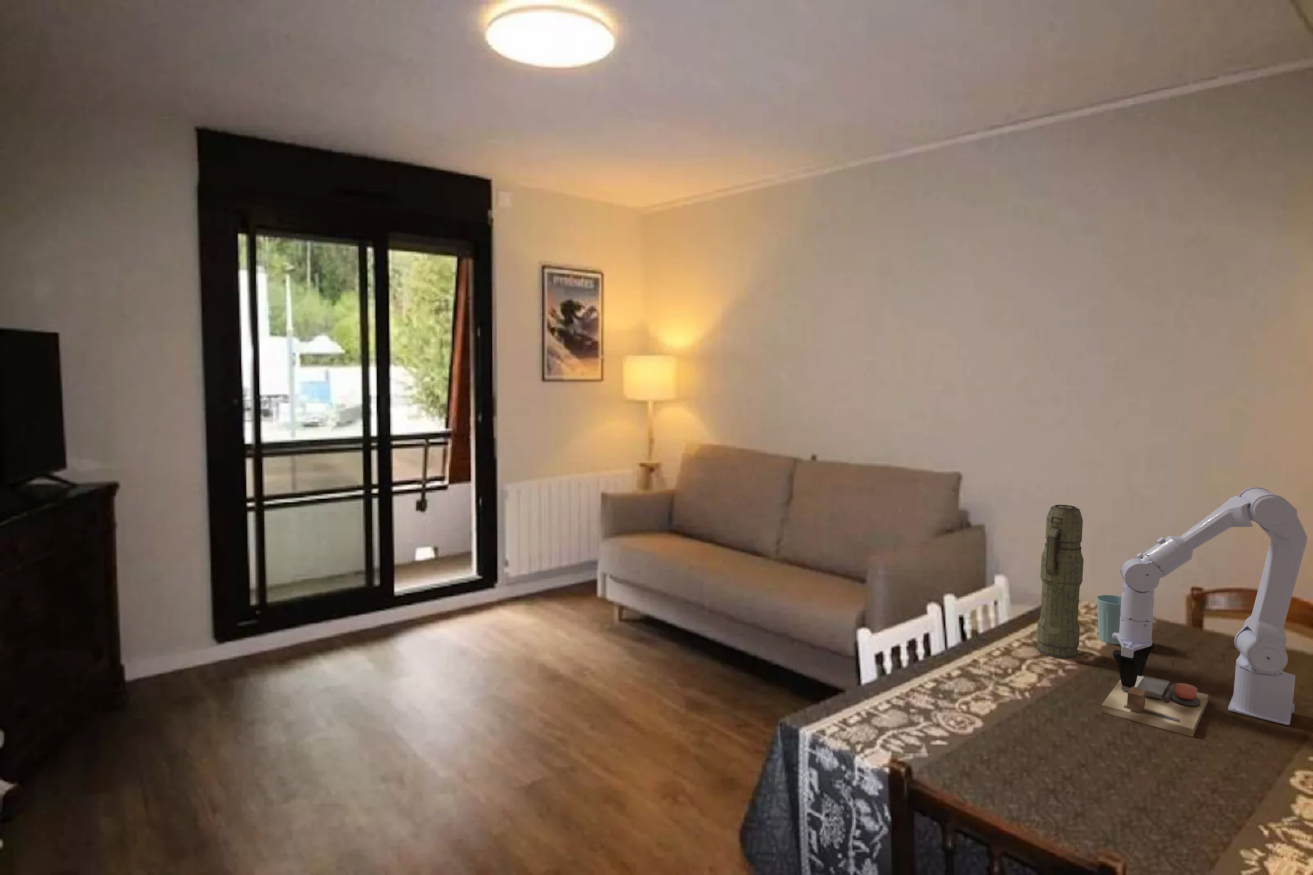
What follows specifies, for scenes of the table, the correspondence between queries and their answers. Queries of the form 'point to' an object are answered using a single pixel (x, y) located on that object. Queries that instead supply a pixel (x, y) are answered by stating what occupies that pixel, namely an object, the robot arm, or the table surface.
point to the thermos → (1061, 583)
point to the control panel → (1159, 710)
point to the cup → (1108, 617)
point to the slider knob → (1136, 699)
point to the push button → (1185, 691)
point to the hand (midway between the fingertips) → (1132, 680)
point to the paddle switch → (1150, 686)
